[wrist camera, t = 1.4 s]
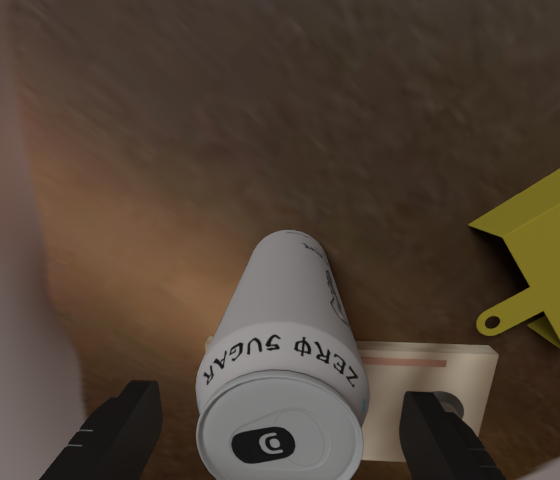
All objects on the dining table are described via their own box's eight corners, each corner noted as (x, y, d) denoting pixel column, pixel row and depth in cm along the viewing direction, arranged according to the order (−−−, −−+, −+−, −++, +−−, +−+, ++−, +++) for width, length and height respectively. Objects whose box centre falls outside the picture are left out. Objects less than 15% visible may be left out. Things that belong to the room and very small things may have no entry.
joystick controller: (488, 345, 23) (654, 501, 13) (463, 452, 27) (577, 649, 16) (209, 335, 25) (142, 470, 14) (217, 439, 28) (167, 615, 17)
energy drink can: (334, 287, 23) (403, 503, 8) (264, 304, 23) (216, 530, 9) (315, 218, 21) (360, 333, 7) (242, 238, 22) (141, 382, 8)
